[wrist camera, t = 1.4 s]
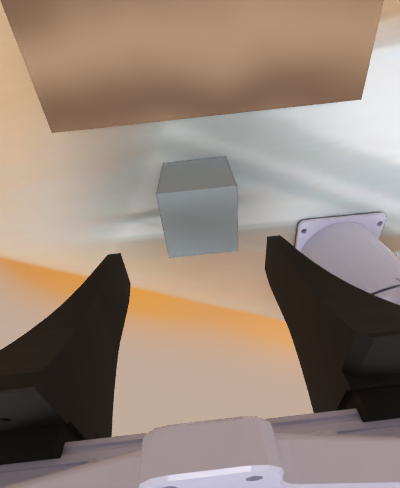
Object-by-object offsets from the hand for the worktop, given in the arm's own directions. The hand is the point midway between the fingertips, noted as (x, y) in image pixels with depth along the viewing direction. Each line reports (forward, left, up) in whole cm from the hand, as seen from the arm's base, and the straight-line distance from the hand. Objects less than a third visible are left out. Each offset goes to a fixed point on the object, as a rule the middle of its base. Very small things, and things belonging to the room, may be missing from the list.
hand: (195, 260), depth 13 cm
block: (-1, 0, -11) cm, 11 cm away
